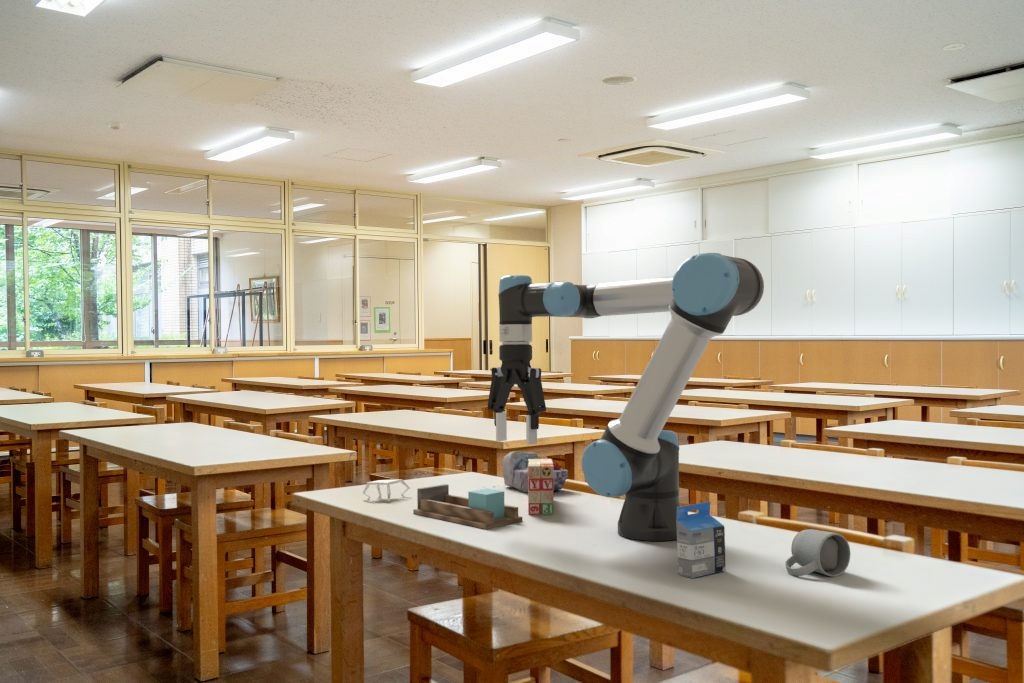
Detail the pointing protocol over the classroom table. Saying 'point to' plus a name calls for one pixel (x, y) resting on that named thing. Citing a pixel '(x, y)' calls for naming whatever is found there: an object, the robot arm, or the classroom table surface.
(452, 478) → the classroom table surface
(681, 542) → the label tape box
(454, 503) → the chute
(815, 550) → the ceramic mug
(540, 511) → the stack of blocks
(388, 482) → the white bent leg stand
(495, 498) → the block
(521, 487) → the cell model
